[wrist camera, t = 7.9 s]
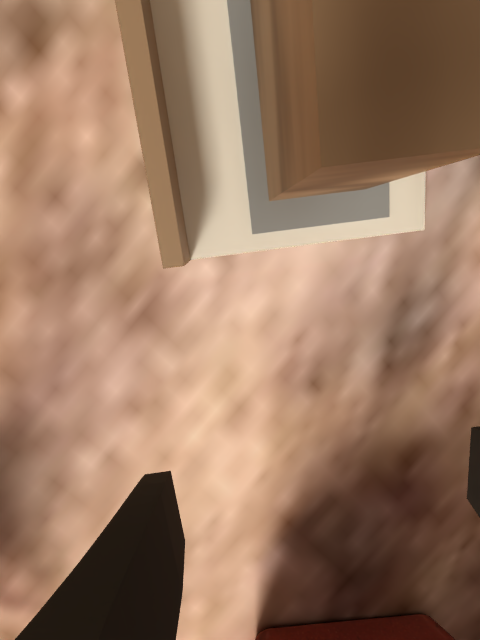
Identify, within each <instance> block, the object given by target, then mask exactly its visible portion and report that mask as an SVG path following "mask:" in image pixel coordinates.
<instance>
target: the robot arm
mask: <svg viewBox="0 0 480 640" xmlns="http://www.w3.org/2000/svg"><path fill="white" fill-rule="evenodd" d="M467 499H468V501H469V502H470V504H471V505H472V507H473V508H474V510H475V511H476V513H477V514H478V516H479V517H480V426H479V427H472V428H471V442H470V458H469V474H468V490H467ZM184 553H185V538H184V533H183V528H182V524H181V519H180V514H179V509H178V504H177V499H176V494H175V490H174V485H173V480H172V475H171V471H166V472H159V473H152V474H145V475H144V476H143V477H142V479H141V480H140V481H139V483H138V484H137V485H136V487H135V488H134V489H133V491H132V492H131V493H130V495H129V496H128V498H127V499H126V500H125V502H124V503H123V505H122V506H121V507H120V509H119V510H118V511H117V513H116V514H115V515H114V517H113V518H112V520H111V521H110V522H109V524H108V525H107V526H106V528H105V529H104V530H103V532H102V533H101V534H100V536H99V537H98V538H97V540H96V541H95V542H94V543H93V545H92V546H91V547H90V549H89V550H88V551H87V553H86V554H85V555H84V557H83V558H82V559H81V561H80V562H79V563H78V564H77V566H76V567H75V568H74V569H73V571H72V572H71V573H70V574H69V576H68V577H67V578H66V579H65V580H64V582H63V583H62V584H61V585H60V587H59V588H58V589H57V590H56V591H55V593H54V594H53V595H52V596H51V597H50V599H49V600H48V601H47V602H46V604H45V605H44V606H43V607H42V608H41V610H40V611H39V612H38V613H37V615H36V616H35V617H34V618H33V619H32V620H31V622H30V623H29V624H28V625H27V626H26V627H25V628H24V630H23V631H22V632H21V633H20V634H19V635H18V637H17V638H16V639H15V640H176V634H177V627H178V620H179V613H180V606H181V599H182V591H183V573H184Z"/></svg>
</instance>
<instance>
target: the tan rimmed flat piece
mask: <svg viewBox="0 0 480 640" xmlns="http://www.w3.org/2000/svg"><path fill="white" fill-rule="evenodd" d="M115 3H116V9H117V15H118V20H119V26H120V31H121V37H122V42H123V48H124V54H125V59H126V65H127V70H128V76H129V81H130V87H131V92H132V98H133V104H134V109H135V115H136V120H137V126H138V131H139V137H140V143H141V148H142V154H143V159H144V165H145V170H146V176H147V182H148V187H149V193H150V198H151V204H152V209H153V215H154V220H155V226H156V232H157V237H158V243H159V248H160V254H161V259H162V265H163V269H164V268H172V267H180V266H185V265H186V264H187V263H188V262H189V261H190V260H194V259H201V258H209V257H217V256H225V255H233V254H240V253H248V252H256V251H264V250H272V249H280V248H287V247H295V246H303V245H311V244H319V243H327V242H334V241H342V240H350V239H358V238H366V237H374V236H381V235H389V234H397V233H405V232H413V231H421V230H425V182H426V171H424V172H421V173H418V174H414V175H411V176H408V177H404V178H401V179H398V180H394V181H391V182H388V183H385V184H381V185H378V186H375V187H371V188H368V189H364V190H356V191H348V192H339V193H331V194H323V195H315V196H307V197H299V198H291V199H283V200H275V201H269V195H268V185H267V174H266V164H265V153H264V142H263V132H262V121H261V110H260V100H259V89H258V78H257V68H256V57H255V46H254V36H253V25H252V15H251V4H250V0H115Z"/></svg>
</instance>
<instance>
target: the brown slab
mask: <svg viewBox="0 0 480 640" xmlns="http://www.w3.org/2000/svg"><path fill="white" fill-rule="evenodd" d="M250 4H251V15H252V25H253V36H254V46H255V57H256V68H257V78H258V89H259V100H260V110H261V121H262V132H263V142H264V153H265V164H266V174H267V185H268V195H269V201H275V200H283V199H291V198H299V197H307V196H315V195H323V194H331V193H339V192H348V191H356V190H364V189H368V188H371V187H375V186H378V185H381V184H385V183H388V182H391V181H394V180H398V179H401V178H404V177H408V176H411V175H414V174H418V173H421V172H424V171H428V170H431V169H434V168H438V167H441V166H444V165H448V164H451V163H454V162H458V161H461V160H464V159H468V158H471V157H474V156H477V155H480V0H250Z"/></svg>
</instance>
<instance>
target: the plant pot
mask: <svg viewBox="0 0 480 640" xmlns="http://www.w3.org/2000/svg"><path fill="white" fill-rule="evenodd" d="M255 640H455V639H454V638H453V637H452V636H451V635H450V634H449V633H448V632H447V631H445V630H444V629H443V628H442V627H441V626H440V625H439V624H438V623H437V622H435V621H434V620H433V619H432V618H431V617H430V616H427V615H423V614H416V615H407V616H396V617H384V618H373V619H363V620H352V621H342V622H332V623H322V624H312V625H301V626H291V627H280V628H270V629H266V630H264V631H262V632H260V633H259V634H258V635H257V637H256V639H255Z"/></svg>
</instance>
